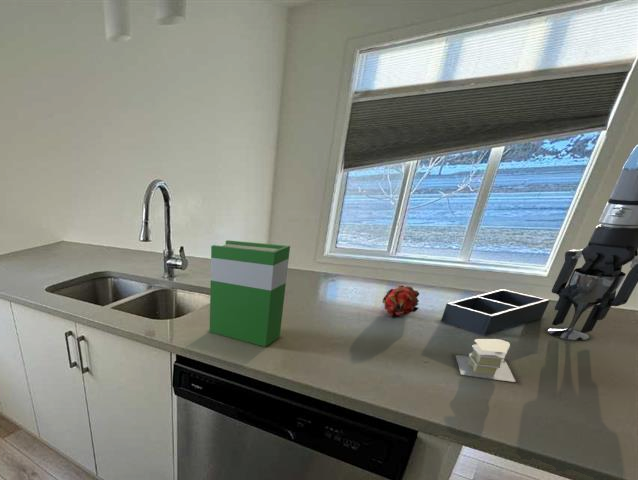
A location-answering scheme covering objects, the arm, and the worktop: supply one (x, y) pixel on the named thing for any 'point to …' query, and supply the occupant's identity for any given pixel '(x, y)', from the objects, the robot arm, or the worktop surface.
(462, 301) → the divided tray
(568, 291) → the wine glass
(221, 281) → the hardback book
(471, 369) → the stacked layers on plate
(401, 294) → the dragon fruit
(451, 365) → the worktop surface
